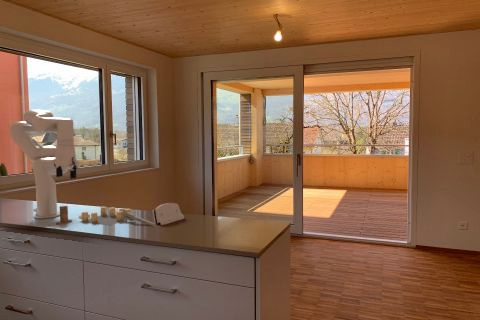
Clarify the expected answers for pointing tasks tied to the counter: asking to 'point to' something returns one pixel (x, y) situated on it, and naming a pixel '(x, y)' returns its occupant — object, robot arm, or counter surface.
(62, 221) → the brown inverted t block
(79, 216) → the nut
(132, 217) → the caliper
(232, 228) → the counter surface
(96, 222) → the spacer jig
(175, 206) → the beige flat slab
